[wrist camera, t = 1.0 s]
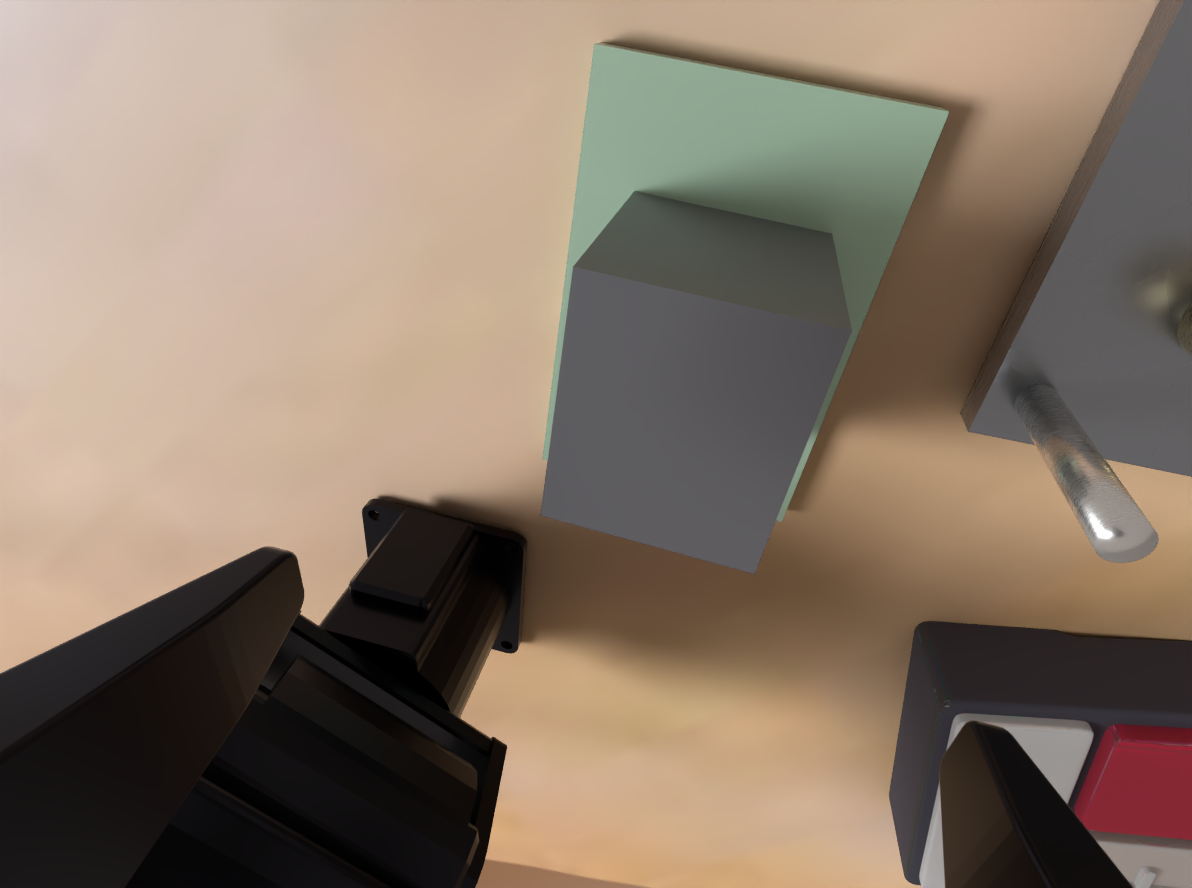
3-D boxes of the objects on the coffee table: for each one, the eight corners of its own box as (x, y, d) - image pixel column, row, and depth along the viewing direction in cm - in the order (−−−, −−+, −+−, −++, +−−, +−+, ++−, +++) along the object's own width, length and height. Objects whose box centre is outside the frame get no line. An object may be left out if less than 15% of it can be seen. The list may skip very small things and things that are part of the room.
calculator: (1398, 967, 22) (907, 907, 25) (1307, 835, 26) (886, 797, 29) (1614, 768, 16) (946, 723, 20) (1458, 633, 20) (914, 615, 23)
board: (781, 503, 22) (780, 675, 16) (551, 443, 23) (474, 587, 17) (940, 105, 15) (1031, 166, 10) (603, 41, 16) (505, 61, 11)
